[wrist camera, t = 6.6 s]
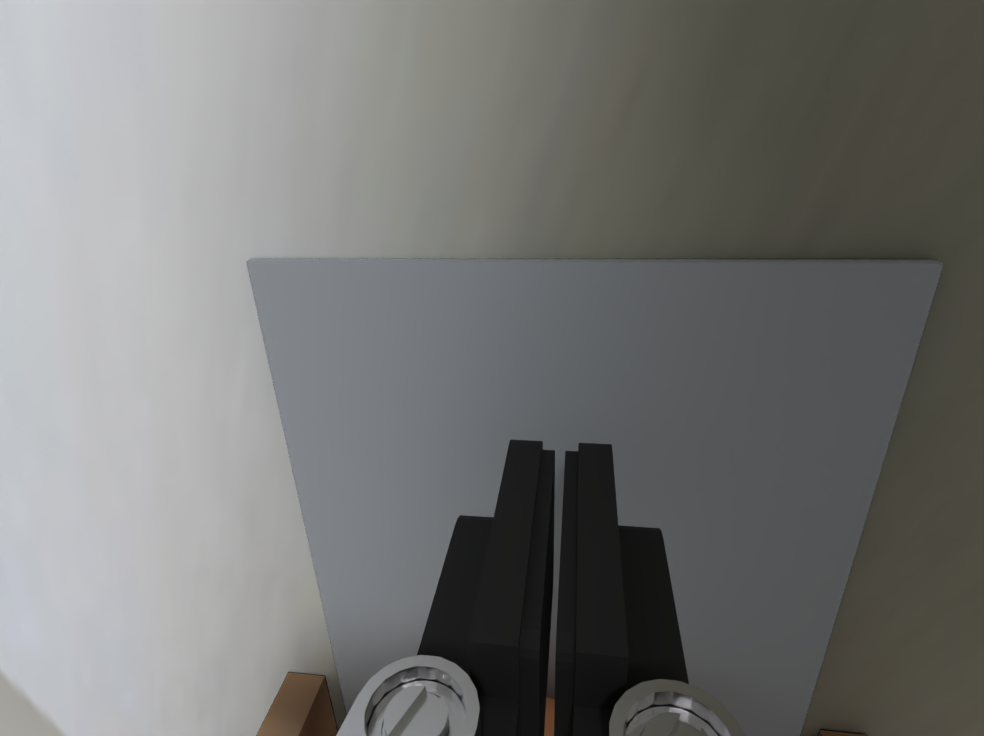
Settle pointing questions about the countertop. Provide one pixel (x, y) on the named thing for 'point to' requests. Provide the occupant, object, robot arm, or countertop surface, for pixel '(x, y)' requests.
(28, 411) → the countertop surface
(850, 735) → the lane rail
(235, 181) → the countertop surface
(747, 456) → the plate
